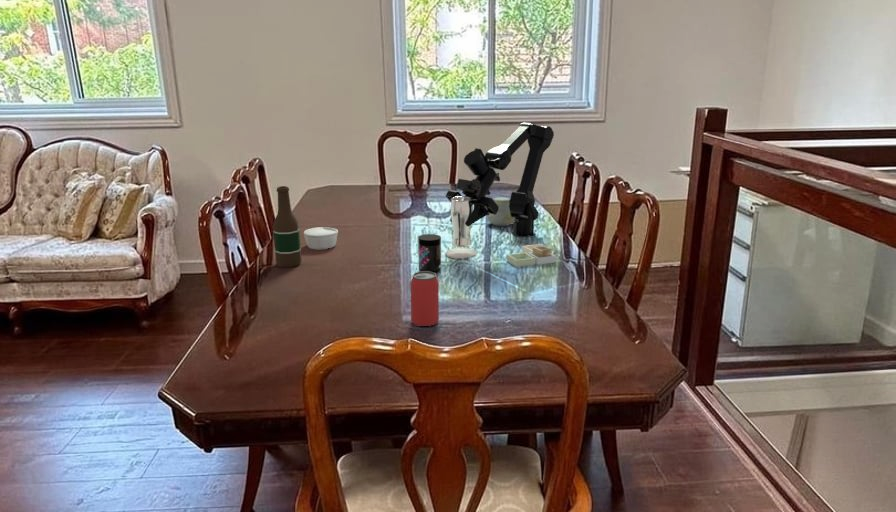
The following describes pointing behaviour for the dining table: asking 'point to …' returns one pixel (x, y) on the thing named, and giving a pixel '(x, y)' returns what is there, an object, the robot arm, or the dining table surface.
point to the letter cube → (541, 251)
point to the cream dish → (529, 248)
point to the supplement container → (429, 252)
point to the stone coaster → (460, 253)
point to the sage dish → (520, 259)
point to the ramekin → (321, 237)
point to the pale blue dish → (543, 259)
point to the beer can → (424, 298)
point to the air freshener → (501, 213)
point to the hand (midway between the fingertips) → (459, 223)
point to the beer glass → (461, 220)
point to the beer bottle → (286, 232)
